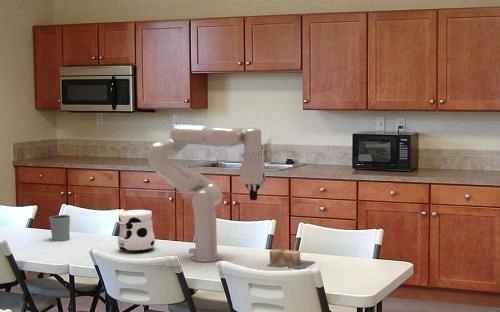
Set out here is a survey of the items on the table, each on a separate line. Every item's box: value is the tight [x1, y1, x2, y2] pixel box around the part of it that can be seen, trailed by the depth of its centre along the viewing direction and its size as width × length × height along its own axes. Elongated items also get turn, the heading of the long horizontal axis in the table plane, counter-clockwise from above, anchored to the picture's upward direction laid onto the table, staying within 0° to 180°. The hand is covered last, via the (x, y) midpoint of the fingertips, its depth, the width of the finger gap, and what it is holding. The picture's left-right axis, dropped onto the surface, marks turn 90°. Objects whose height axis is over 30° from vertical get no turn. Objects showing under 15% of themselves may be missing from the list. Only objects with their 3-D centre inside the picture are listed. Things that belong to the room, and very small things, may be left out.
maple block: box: [269, 248, 301, 265], centre depth 322 cm, size 5×5×12 cm
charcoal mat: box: [266, 259, 316, 270], centre depth 321 cm, size 16×14×1 cm
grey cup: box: [48, 214, 71, 242], centre depth 383 cm, size 10×10×12 cm
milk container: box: [117, 209, 156, 253], centre depth 354 cm, size 17×17×18 cm
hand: (253, 199), depth 325 cm, fingers closed
